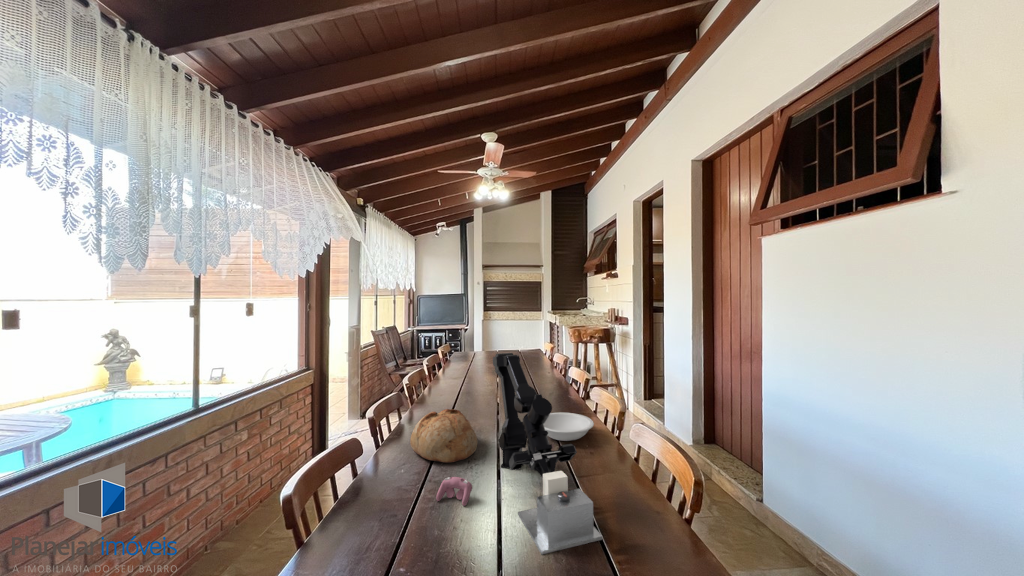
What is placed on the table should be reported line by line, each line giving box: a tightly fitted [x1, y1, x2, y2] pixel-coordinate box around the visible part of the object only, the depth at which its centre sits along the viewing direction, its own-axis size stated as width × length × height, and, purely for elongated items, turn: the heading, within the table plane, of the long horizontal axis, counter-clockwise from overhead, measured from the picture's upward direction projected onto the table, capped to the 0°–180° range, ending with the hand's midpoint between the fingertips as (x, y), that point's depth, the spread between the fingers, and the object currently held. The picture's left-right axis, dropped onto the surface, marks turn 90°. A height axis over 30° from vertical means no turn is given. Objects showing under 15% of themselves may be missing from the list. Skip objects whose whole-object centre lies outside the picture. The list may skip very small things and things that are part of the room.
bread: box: [409, 408, 478, 464], centre depth 144 cm, size 26×23×15 cm
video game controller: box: [435, 476, 473, 507], centre depth 110 cm, size 10×5×7 cm, turn 71°
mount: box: [517, 488, 603, 555], centre depth 97 cm, size 16×16×10 cm
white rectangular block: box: [542, 470, 569, 496], centre depth 95 cm, size 10×6×12 cm, turn 18°
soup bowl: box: [544, 411, 595, 442], centre depth 156 cm, size 24×24×7 cm
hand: (552, 488), depth 100 cm, fingers closed, pressing on white rectangular block
